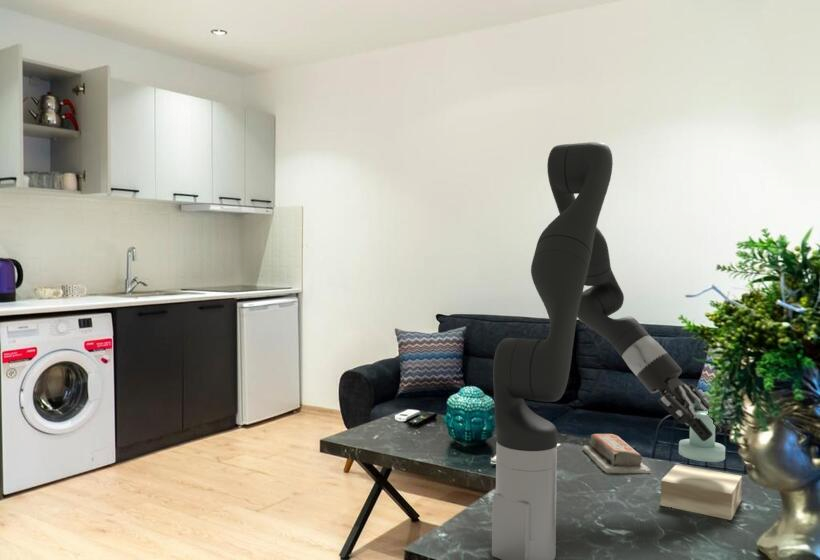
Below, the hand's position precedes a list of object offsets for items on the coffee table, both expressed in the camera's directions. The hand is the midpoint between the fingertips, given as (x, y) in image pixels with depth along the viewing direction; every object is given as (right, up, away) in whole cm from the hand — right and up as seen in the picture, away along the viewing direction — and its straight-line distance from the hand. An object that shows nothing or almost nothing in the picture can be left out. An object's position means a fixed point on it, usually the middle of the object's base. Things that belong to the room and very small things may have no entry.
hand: (712, 435), depth 122 cm
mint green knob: (-1, -4, +1) cm, 5 cm away
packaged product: (-10, -13, +28) cm, 32 cm away
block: (-1, -13, +2) cm, 14 cm away
